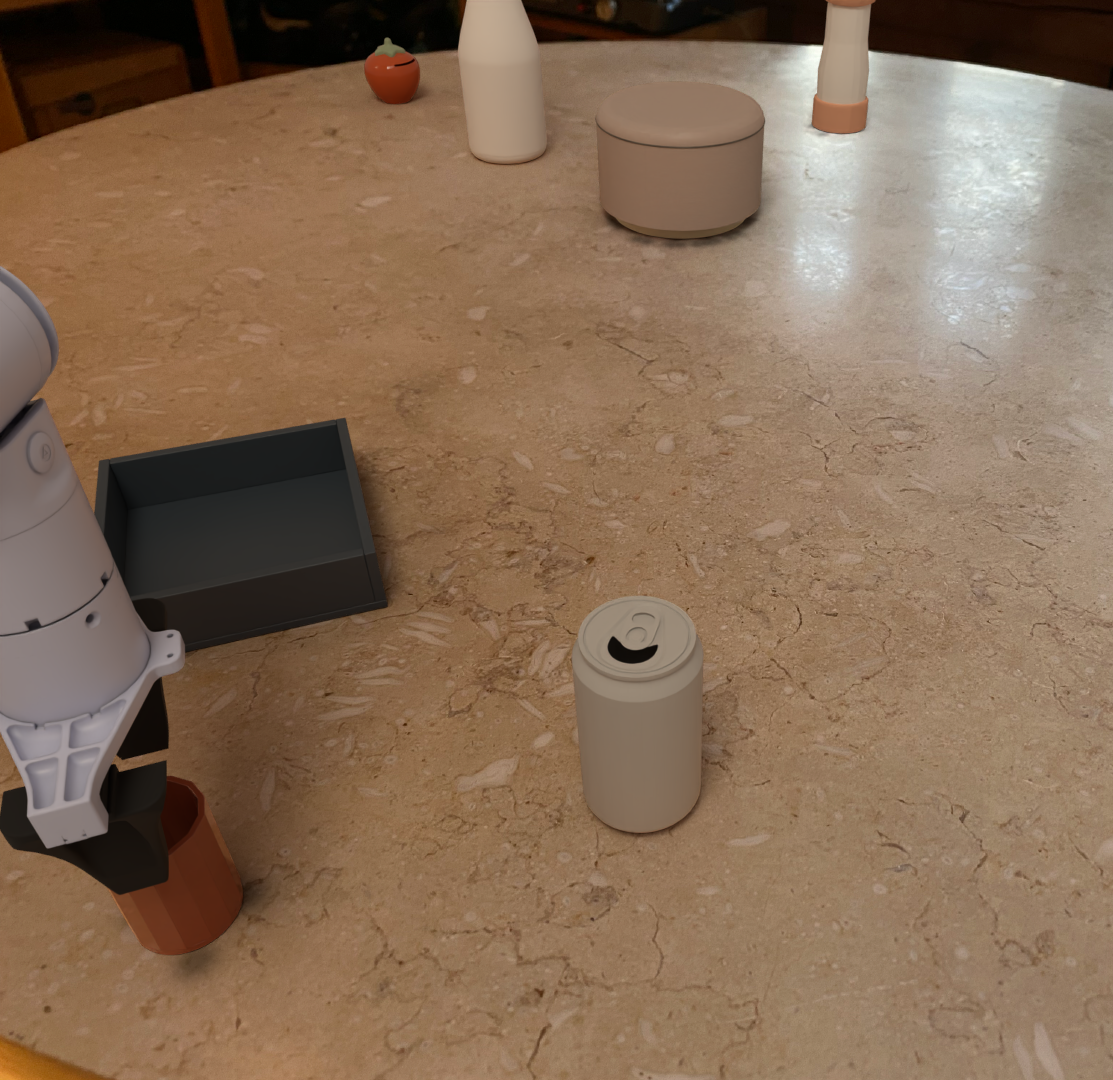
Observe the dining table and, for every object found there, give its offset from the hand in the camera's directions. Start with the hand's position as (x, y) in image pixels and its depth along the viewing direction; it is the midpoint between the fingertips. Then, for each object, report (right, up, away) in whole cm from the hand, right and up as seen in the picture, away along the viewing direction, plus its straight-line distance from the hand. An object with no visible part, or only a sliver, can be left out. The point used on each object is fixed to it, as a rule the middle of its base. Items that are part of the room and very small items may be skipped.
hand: (144, 811), depth 49 cm
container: (+22, +49, +73) cm, 91 cm away
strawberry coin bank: (-18, +73, +101) cm, 126 cm away
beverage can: (+22, -2, +11) cm, 24 cm away
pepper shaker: (+42, +68, +97) cm, 126 cm away
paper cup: (0, -6, +5) cm, 7 cm away
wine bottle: (0, +60, +86) cm, 105 cm away
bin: (-6, +11, +25) cm, 28 cm away
